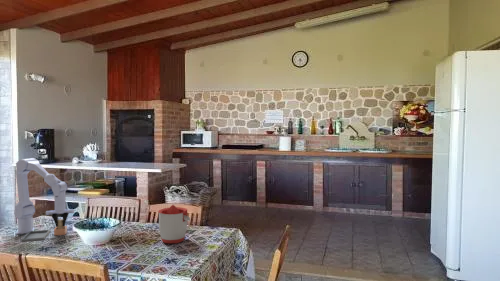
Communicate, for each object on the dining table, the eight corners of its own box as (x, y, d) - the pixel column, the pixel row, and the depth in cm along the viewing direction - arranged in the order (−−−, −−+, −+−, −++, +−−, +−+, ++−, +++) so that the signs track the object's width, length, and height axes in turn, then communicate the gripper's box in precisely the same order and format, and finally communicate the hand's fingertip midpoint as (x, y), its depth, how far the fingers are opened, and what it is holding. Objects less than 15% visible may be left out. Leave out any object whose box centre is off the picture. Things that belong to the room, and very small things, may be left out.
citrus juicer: (184, 246, 190) (183, 208, 189) (153, 244, 193) (153, 207, 192) (194, 237, 205) (194, 202, 204) (166, 235, 208) (165, 201, 208)
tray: (29, 234, 211) (29, 231, 211) (50, 232, 214) (50, 229, 214) (21, 242, 196) (21, 239, 195) (44, 240, 199) (44, 237, 199)
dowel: (58, 232, 211) (58, 219, 211) (64, 232, 212) (63, 219, 212) (57, 234, 209) (57, 220, 208) (63, 233, 209) (62, 220, 209)
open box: (56, 233, 212) (56, 226, 212) (67, 232, 214) (67, 225, 214) (54, 236, 207) (54, 229, 207) (65, 235, 209) (65, 228, 208)
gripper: (44, 205, 204) (44, 229, 204) (72, 203, 208) (73, 226, 209) (47, 202, 210) (47, 225, 211) (74, 201, 215) (75, 223, 215)
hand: (60, 226), depth 210 cm, fingers closed on dowel, 3 cm apart
